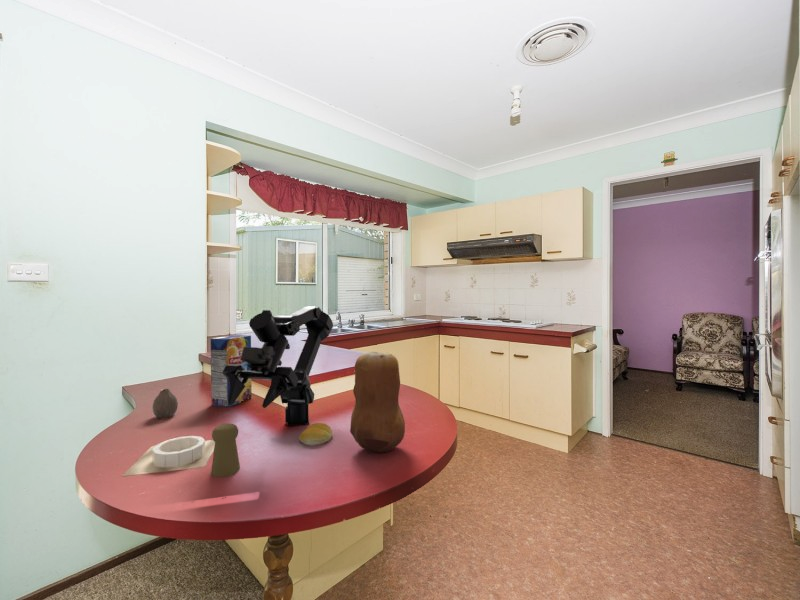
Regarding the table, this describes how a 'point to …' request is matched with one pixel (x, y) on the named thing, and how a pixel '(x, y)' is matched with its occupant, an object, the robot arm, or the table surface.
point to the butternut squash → (377, 403)
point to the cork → (225, 451)
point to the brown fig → (165, 404)
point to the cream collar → (178, 451)
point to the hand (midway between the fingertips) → (246, 406)
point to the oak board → (147, 466)
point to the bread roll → (316, 434)
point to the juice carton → (222, 355)
